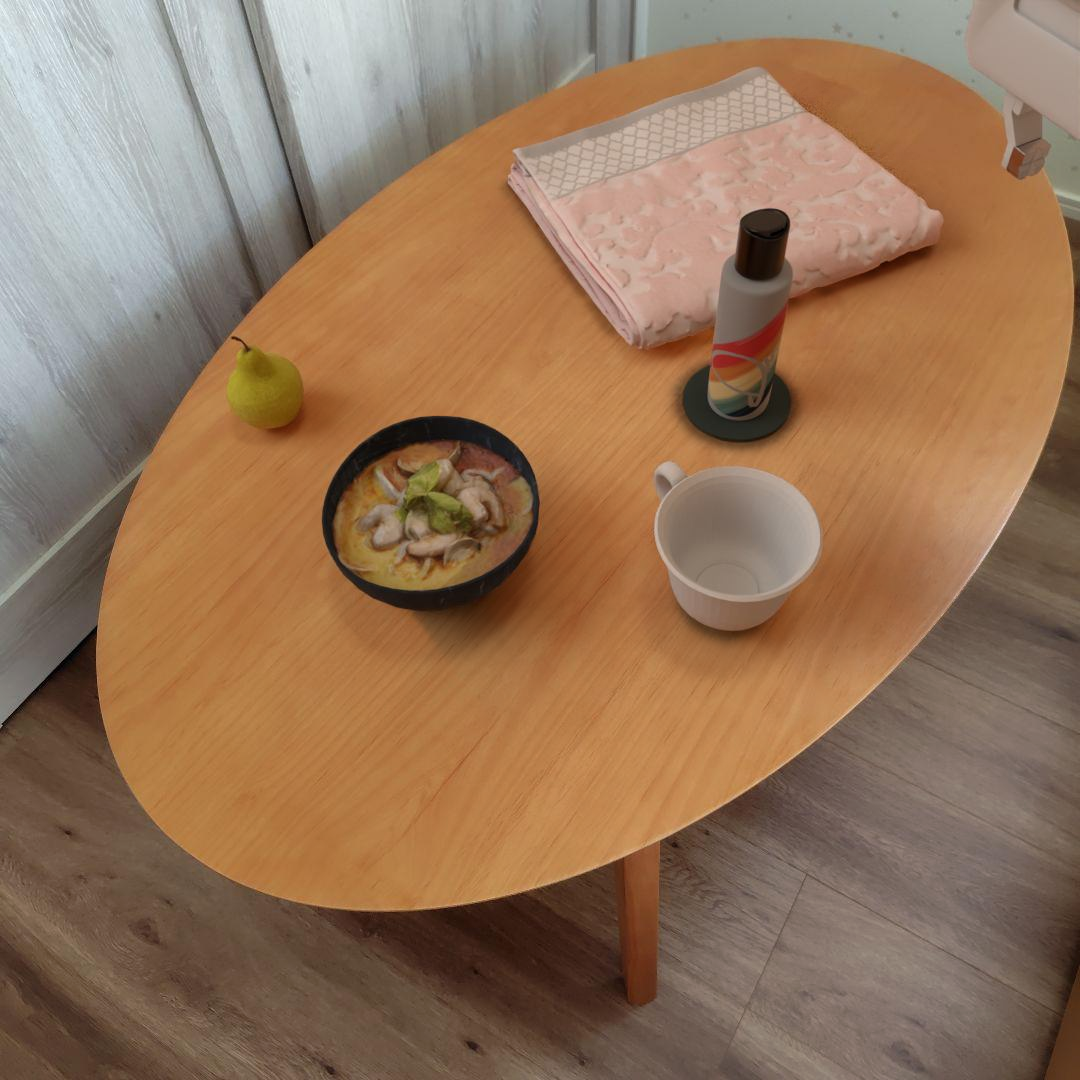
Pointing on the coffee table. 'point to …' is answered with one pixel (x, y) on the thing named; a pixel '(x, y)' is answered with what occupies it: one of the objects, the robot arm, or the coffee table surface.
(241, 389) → the fruit
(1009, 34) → the robot arm
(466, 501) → the bowl
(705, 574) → the teacup
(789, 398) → the coaster
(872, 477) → the coffee table surface
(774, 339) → the lotion bottle
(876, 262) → the towel
